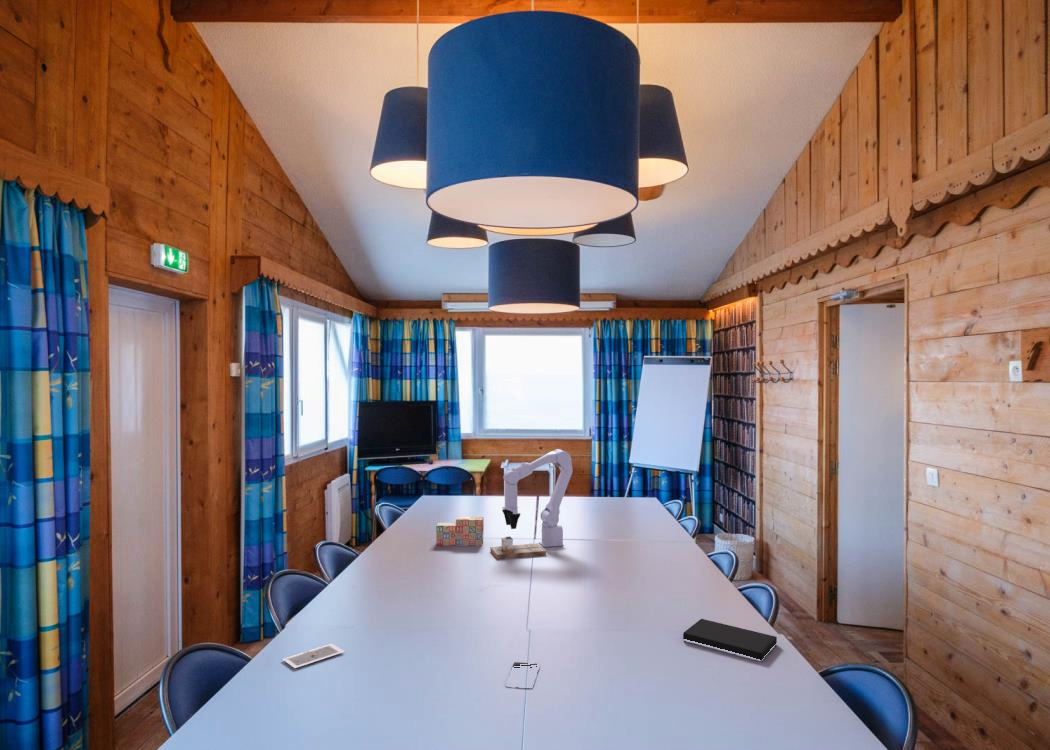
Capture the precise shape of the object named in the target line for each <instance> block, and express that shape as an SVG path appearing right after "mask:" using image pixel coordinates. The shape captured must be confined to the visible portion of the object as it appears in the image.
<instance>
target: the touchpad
mask: <svg viewBox="0 0 1050 750" xmlns="http://www.w3.org/2000/svg"><path fill="white" fill-rule="evenodd" d="M345 651H346V650H343V649H342V648H340V647H339V646H337V645H335V644H334V643H329V644H325V645H322V646H319V647H315V648H313V649H309V650H306V651H303V652H300V653H297V654H294V655H291V656H288V657H284V658H282V660H283V661H284V662H285V663H287V664H288V665H290V666H291V667H292V668H293V669H297V668H300V667H303V666H306V665H309V664H312V663H315V662H318V661H321V660H324V659H328V658H330V657H333V656H336V655H339V654H342V653H345Z"/></svg>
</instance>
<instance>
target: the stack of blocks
mask: <svg viewBox="0 0 1050 750" xmlns="http://www.w3.org/2000/svg"><path fill="white" fill-rule="evenodd" d="M484 524H485V523H484V516H456V519H455V522H437V524H436V526H435V527H436V529H435V531H436V533H435V534H436V535H435V536H436V537H435V538H436V541H435V543H436V546H451V545H474V546H473V547H482V546H483V545H482V544H484Z"/></svg>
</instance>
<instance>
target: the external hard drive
mask: <svg viewBox="0 0 1050 750" xmlns="http://www.w3.org/2000/svg"><path fill="white" fill-rule="evenodd" d="M682 636H683V637H682V639H687V640H690V641H695V642H698V643H702V644H706V645H710V646H713V647H717V648H720V649H725V650H728V651H732V652H735V653H739V654H743V655H746V656H750V657H753V658H756V659H760V660H762V659H763V658H764V656H765V655H766V654H767V653H768V652H769V651H770V649H771V648H772V647H773V646H774V645H775V644H776V643H777V636H774V635H771V634H768V633H767V634H766V633H762V632H760V631H759V632H758V631H755V630H750V629H747V628H743V627H738V626H733V625H729V624H725V623H722V622H718V621H717V622H716V621H712V620H709V619H704V618H700V619H699V620H698V621H697V622H695V623H694V624H692V626H690V627H689V628H688V629H686V630H684V632H683V633H682ZM777 644H778V643H777Z"/></svg>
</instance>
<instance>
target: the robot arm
mask: <svg viewBox="0 0 1050 750" xmlns="http://www.w3.org/2000/svg"><path fill="white" fill-rule="evenodd" d="M548 463H550V464H556V465H557V467H558V469H559V471H560V473H559V475H558V478H557V479H556V480H557V481H556V484H555V486H554V488H553V492H552V494H551V496H550V499H549V502H548V503H547V504H546V505H545V508H544V509H542V511H541V513H540V520H541V521H542V523H541V541H538V544H539V545H540V546H541V547H542V548H548V547H560V546H562V547H563V546H564V544H563V543H564V529H563V526H562V525H561V524H558V523H559V520H560V517H559V516H560V513H561V510H560V506H561V504H562V501H563V499H564V495H565V493H566V490H567V488H568V486H569V482H570V480H571V478H572V475H573V472H574V471H573V464H572V457H571V454H570V453H569V452H568V451H566V450H562V449H561V448H556V449H554V450H552V451H549V452H548V453H546V454H544V455H542V456H540V457H539V458H537V459H535V460H533V461H531V462H530V463H529V462H527V461H526V462H521V464H519V465H518V466H516V467H512V468H511V469H509V470H506V471H505V472H504V475H503V480H504V506H502V507H501V508H502V509H501V510H502V514H503V515H504V518H505V519H504V520H505V525H506V526H510V529H511V530H515V529H517V526H518V522H519V519H520V517H521V513H520V512H519V511H518V509H519V507H518V482H519V480H522V479H524V478H527V477H528V476H530V475H532V474H533V471H534V470H536V469H538V468H540V467H542V466H544V465H546V464H548Z"/></svg>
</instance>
